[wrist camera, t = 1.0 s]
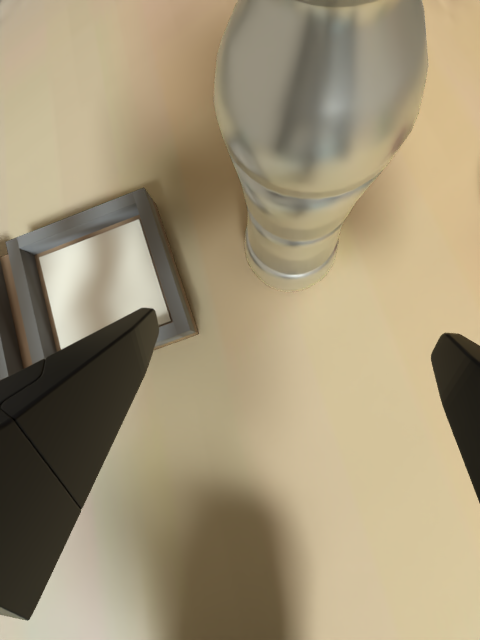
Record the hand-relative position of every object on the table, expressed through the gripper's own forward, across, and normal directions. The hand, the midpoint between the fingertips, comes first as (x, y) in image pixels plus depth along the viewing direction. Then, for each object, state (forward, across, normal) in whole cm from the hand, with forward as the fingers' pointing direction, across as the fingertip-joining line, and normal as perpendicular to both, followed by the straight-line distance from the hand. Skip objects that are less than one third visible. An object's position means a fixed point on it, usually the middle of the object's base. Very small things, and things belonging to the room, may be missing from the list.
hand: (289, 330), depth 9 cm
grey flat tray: (+10, +21, +9) cm, 25 cm away
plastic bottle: (+15, 0, +4) cm, 16 cm away
